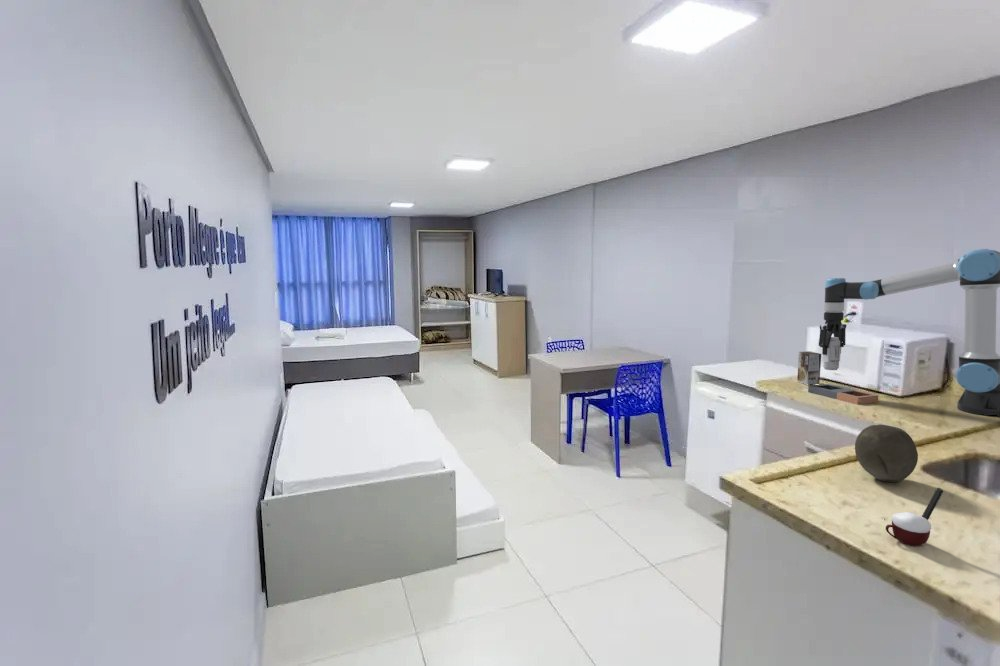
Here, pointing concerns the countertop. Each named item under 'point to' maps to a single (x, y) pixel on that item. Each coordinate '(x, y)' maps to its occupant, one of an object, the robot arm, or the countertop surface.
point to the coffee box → (809, 367)
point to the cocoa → (914, 524)
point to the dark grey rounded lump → (886, 452)
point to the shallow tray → (843, 394)
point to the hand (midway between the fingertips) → (831, 361)
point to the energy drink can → (833, 354)
